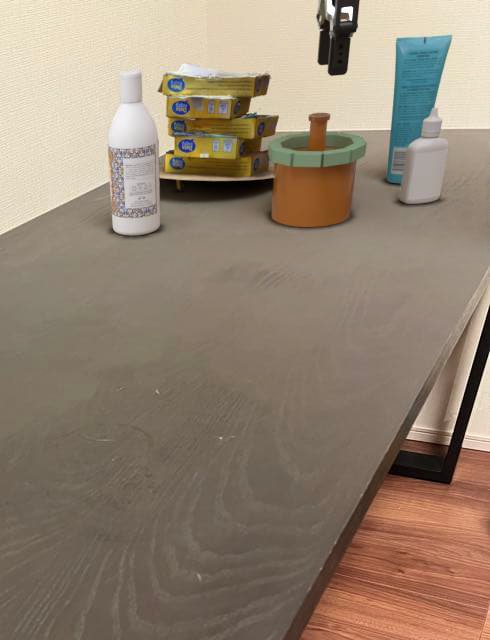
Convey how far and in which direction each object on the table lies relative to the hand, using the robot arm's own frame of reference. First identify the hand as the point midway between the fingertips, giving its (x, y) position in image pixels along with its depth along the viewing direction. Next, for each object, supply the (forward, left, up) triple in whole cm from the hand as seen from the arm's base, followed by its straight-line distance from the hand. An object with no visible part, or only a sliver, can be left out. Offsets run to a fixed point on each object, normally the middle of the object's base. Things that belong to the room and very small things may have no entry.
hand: (331, 69), depth 98 cm
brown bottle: (0, -6, -19) cm, 20 cm away
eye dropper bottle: (-16, -10, -19) cm, 27 cm away
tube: (-16, -21, -19) cm, 32 cm away
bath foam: (+25, -4, -19) cm, 32 cm away
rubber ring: (0, -5, -11) cm, 12 cm away
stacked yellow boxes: (+14, -26, -19) cm, 35 cm away
